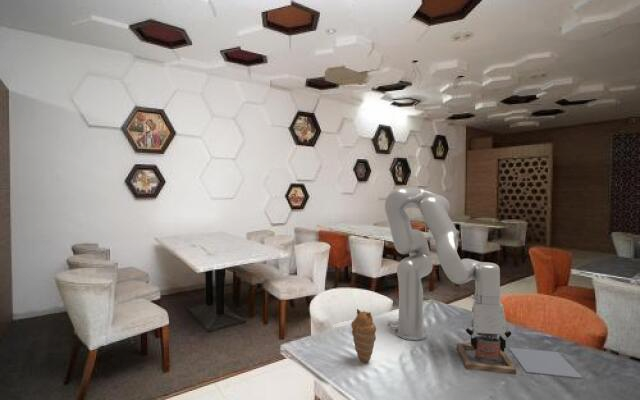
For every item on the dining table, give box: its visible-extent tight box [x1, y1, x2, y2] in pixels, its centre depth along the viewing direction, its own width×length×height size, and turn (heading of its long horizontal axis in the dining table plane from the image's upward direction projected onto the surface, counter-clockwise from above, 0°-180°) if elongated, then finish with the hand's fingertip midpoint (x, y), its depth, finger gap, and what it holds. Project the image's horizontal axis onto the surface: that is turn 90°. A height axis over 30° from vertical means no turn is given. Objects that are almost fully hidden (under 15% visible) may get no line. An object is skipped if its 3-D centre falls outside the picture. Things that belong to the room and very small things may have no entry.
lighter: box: [474, 333, 501, 364], centre depth 113 cm, size 8×3×10 cm, turn 70°
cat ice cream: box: [350, 308, 377, 363], centre depth 112 cm, size 9×8×18 cm
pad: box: [508, 347, 584, 380], centre depth 111 cm, size 16×16×1 cm
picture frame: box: [456, 342, 517, 375], centre depth 113 cm, size 15×15×2 cm
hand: (488, 348), depth 112 cm, fingers closed on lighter, 8 cm apart
